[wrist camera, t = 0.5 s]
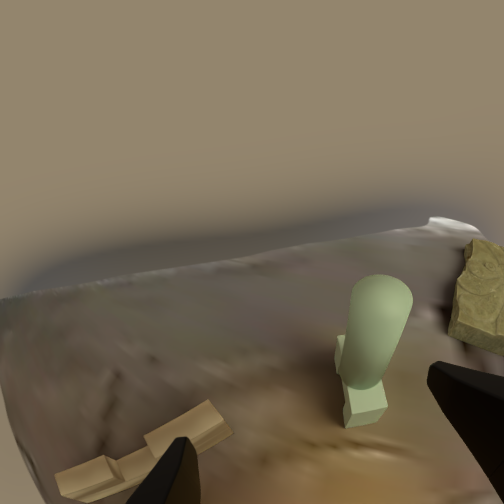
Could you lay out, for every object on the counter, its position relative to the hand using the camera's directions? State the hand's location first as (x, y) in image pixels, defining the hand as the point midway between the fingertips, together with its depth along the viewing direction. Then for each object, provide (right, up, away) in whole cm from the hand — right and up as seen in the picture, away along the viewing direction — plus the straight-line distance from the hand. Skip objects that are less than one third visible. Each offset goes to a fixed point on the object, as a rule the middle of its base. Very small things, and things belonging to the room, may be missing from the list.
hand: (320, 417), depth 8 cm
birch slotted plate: (-12, -14, +11) cm, 21 cm away
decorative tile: (+33, -2, +18) cm, 38 cm away
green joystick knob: (+8, -8, +15) cm, 19 cm away
